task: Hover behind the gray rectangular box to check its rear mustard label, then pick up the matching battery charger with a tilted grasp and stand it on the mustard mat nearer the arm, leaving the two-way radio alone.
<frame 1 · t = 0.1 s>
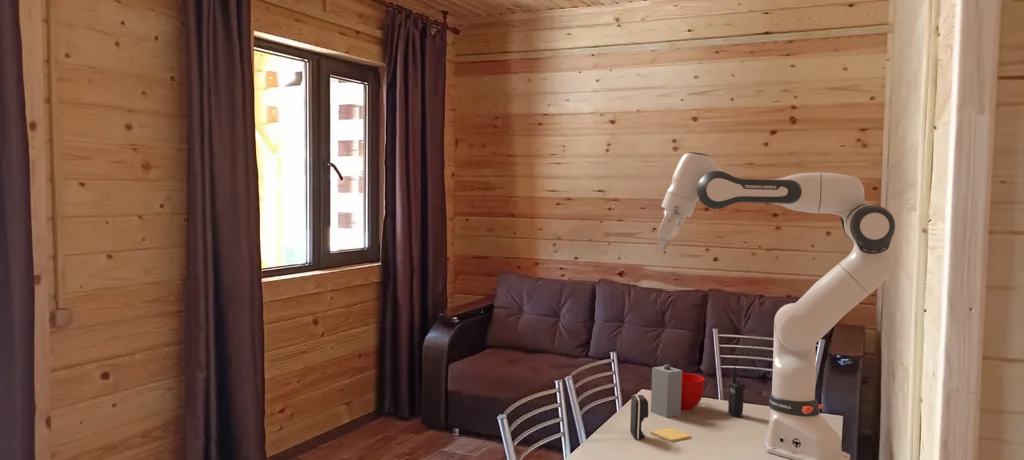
hand: (660, 251, 216), 52 cm above the table, tool tilted 20°, fingers open, 8 cm apart
gray rectangular box: (665, 413, 237), on the table
two-way radio: (736, 415, 237), on the table
battery charger: (638, 436, 214), on the table
ceramic cup: (683, 406, 246), on the table
bay mat: (670, 435, 215), on the table
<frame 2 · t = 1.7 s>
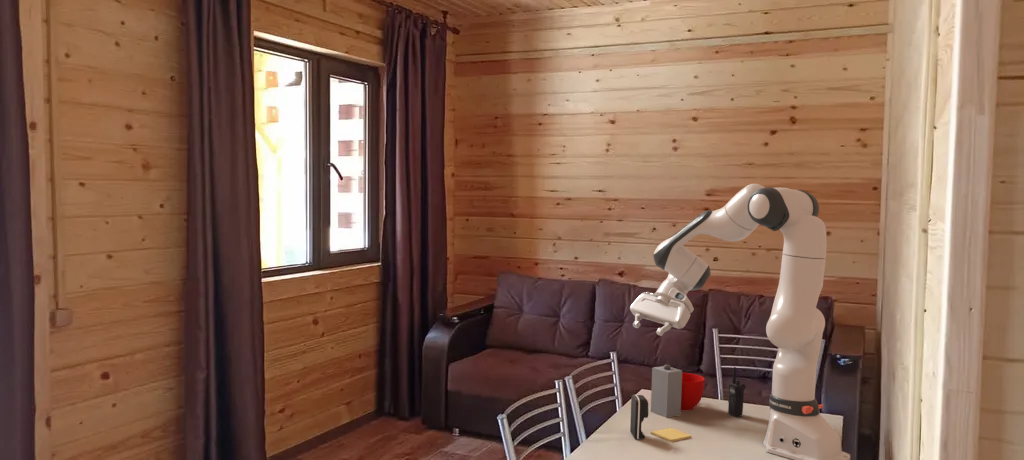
hand: (646, 330, 239), 25 cm above the table, tool tilted 45°, fingers open, 8 cm apart
nothing on the table moved.
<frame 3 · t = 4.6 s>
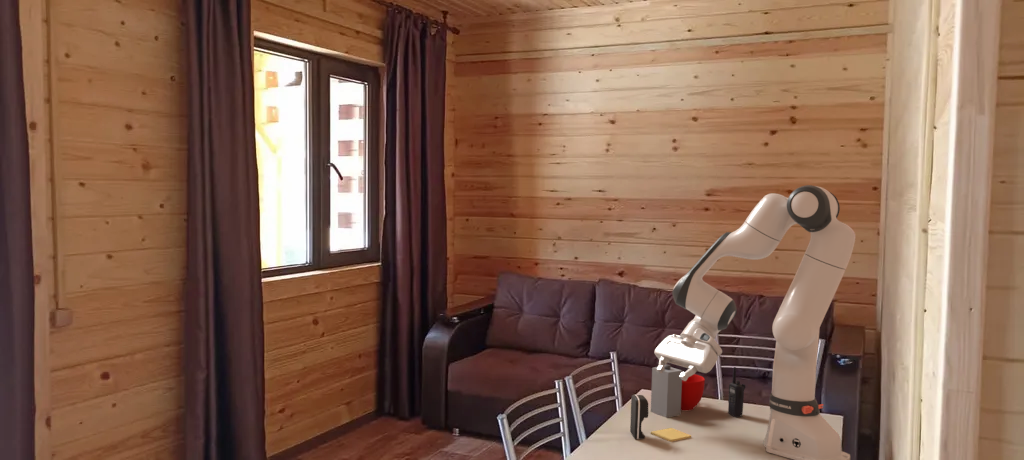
hand: (670, 375, 219), 16 cm above the table, tool tilted 45°, fingers open, 8 cm apart
nothing on the table moved.
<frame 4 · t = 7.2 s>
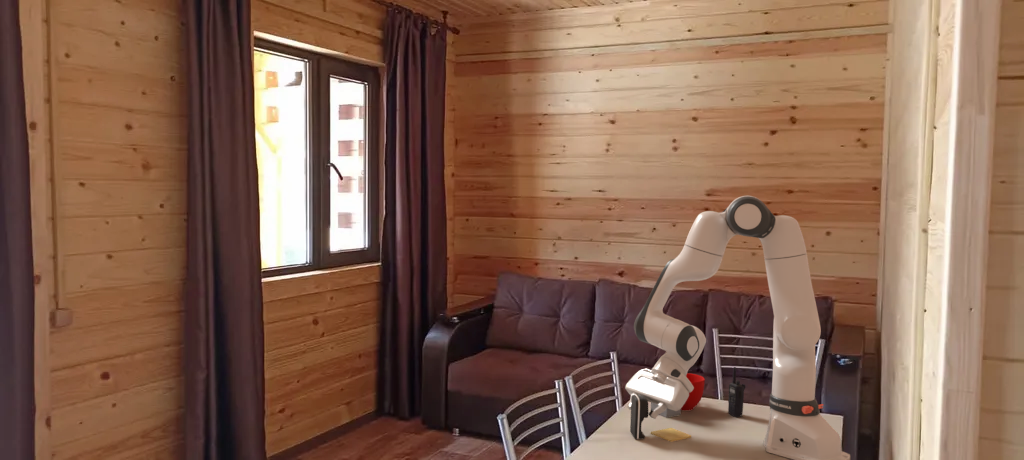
hand: (640, 412, 214), 7 cm above the table, tool tilted 45°, fingers open, 7 cm apart
battery charger: (638, 436, 214), on the table, touching gripper
everything else where it was.
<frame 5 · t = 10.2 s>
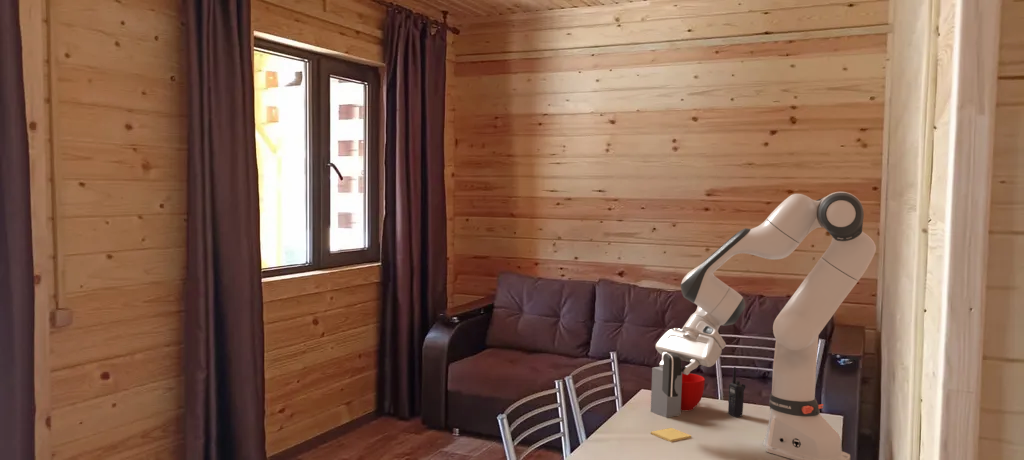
hand: (672, 370, 214), 19 cm above the table, tool tilted 45°, fingers closed on battery charger, 7 cm apart
battery charger: (671, 395, 214), point 12 cm above the table, touching gripper
everything else where it was.
when the fingers open (9 cm above the table, at t = 12.7 s): battery charger drops 1 cm, resting on bay mat.
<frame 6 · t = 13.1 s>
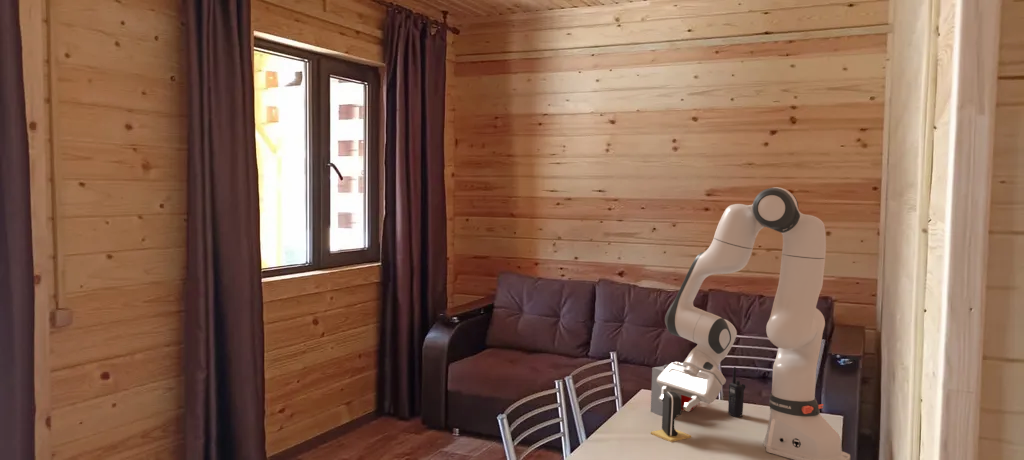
hand: (673, 405, 215), 9 cm above the table, tool tilted 45°, fingers open, 8 cm apart
battery charger: (671, 433, 215), resting on bay mat, touching gripper
everything else where it was.
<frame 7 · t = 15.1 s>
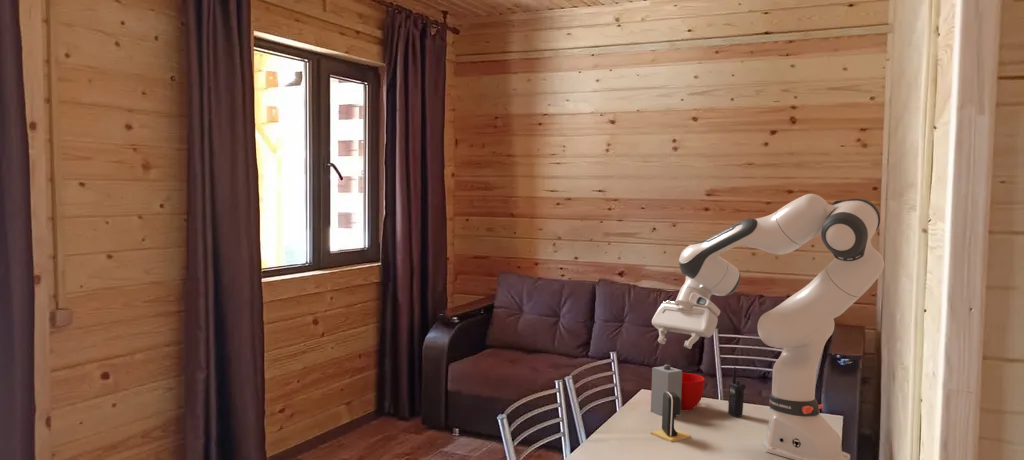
hand: (673, 345, 217), 25 cm above the table, tool tilted 35°, fingers open, 8 cm apart
battery charger: (670, 433, 215), resting on bay mat
everything else where it was.
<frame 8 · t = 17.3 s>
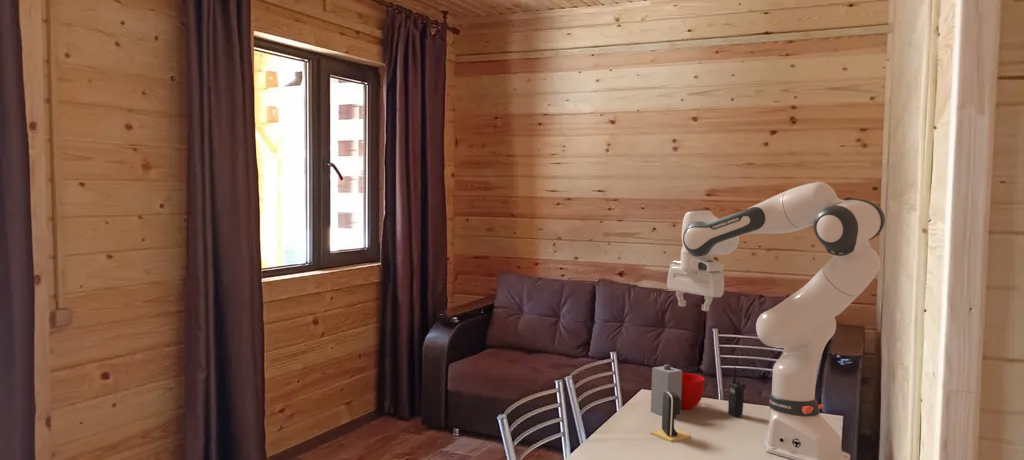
hand: (693, 308, 230), 34 cm above the table, tool pointing down, fingers open, 8 cm apart
nothing on the table moved.
at the end: battery charger inside the target area on the bay mat (0.5 cm from its centre), point 0.4 cm above the bay mat's base; battery charger tilted 0°; the gripper is holding nothing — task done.
